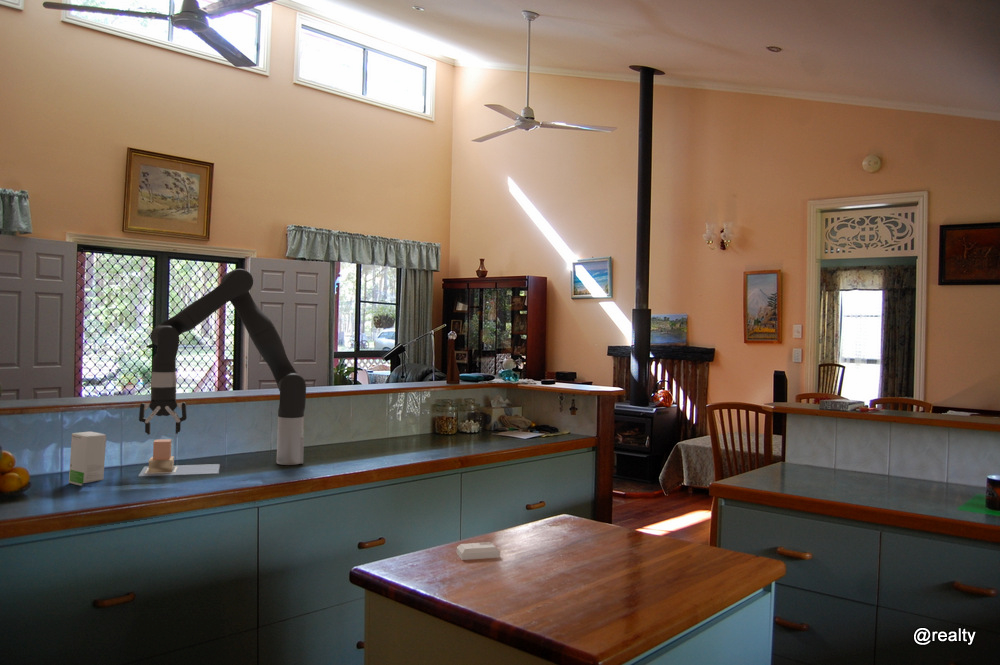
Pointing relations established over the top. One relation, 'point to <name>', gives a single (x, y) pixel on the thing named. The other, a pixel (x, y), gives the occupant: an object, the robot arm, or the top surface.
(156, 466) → the beech base block
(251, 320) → the robot arm
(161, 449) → the terracotta block
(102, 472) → the skincare box
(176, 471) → the board
